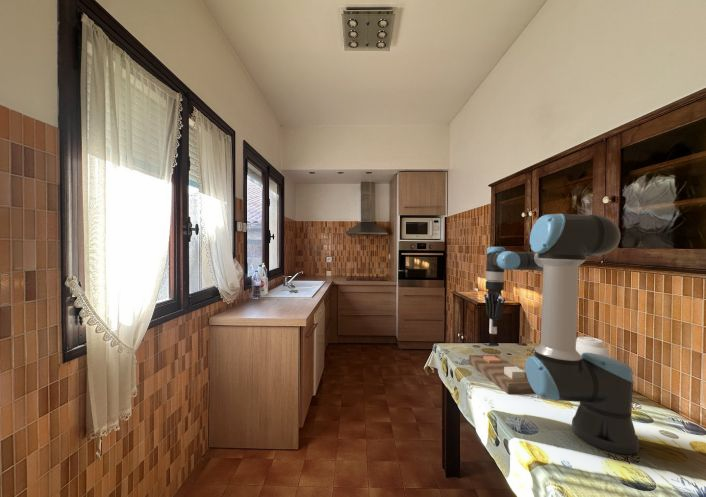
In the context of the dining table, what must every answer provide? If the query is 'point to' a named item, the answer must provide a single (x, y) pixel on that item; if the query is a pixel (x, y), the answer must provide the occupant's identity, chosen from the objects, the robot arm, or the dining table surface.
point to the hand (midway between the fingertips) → (492, 333)
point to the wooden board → (500, 375)
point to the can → (591, 346)
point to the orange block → (491, 359)
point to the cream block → (514, 372)
